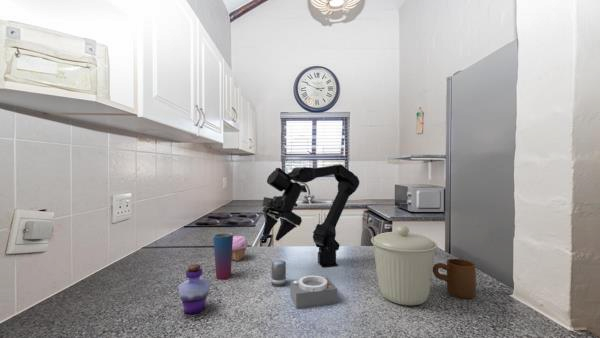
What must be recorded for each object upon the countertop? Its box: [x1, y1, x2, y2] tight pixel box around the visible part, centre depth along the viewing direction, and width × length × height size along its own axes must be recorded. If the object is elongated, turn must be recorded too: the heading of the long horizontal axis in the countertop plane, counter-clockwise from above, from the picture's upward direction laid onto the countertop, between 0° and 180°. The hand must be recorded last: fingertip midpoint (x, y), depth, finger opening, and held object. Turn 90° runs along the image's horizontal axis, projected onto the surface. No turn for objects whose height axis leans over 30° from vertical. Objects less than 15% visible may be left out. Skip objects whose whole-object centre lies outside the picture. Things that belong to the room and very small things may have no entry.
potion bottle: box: [177, 263, 211, 316], centre depth 73 cm, size 9×9×12 cm
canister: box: [370, 225, 438, 306], centre depth 79 cm, size 18×18×21 cm
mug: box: [432, 258, 477, 300], centre depth 81 cm, size 12×8×9 cm, turn 85°
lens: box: [270, 259, 287, 288], centre depth 89 cm, size 5×5×7 cm
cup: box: [212, 232, 234, 281], centre depth 95 cm, size 7×7×15 cm
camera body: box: [289, 275, 338, 310], centre depth 78 cm, size 12×8×5 cm
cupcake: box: [232, 235, 248, 262], centre depth 114 cm, size 9×9×10 cm
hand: (270, 237), depth 92 cm, fingers open, 9 cm apart
